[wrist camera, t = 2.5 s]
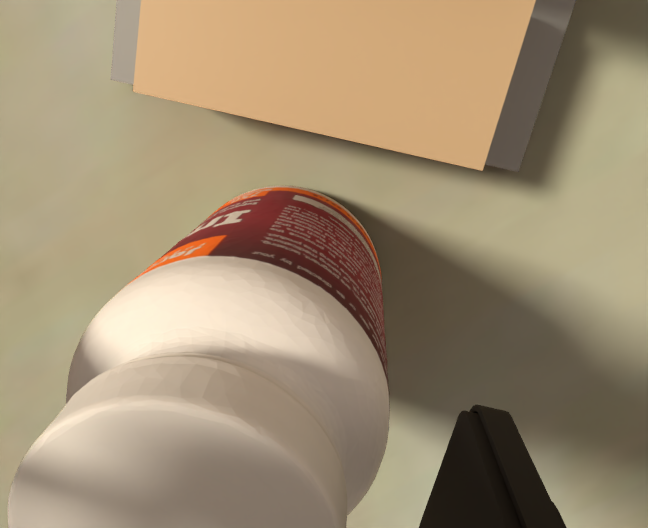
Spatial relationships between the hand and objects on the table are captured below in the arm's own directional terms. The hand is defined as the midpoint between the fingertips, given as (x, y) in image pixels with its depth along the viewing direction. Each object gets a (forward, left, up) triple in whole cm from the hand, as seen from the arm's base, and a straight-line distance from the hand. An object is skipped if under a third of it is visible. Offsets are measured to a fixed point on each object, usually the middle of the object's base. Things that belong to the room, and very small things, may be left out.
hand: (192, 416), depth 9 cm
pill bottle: (0, +1, -9) cm, 9 cm away
